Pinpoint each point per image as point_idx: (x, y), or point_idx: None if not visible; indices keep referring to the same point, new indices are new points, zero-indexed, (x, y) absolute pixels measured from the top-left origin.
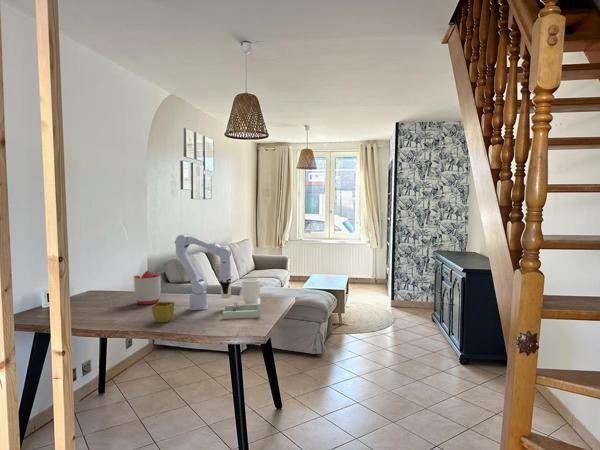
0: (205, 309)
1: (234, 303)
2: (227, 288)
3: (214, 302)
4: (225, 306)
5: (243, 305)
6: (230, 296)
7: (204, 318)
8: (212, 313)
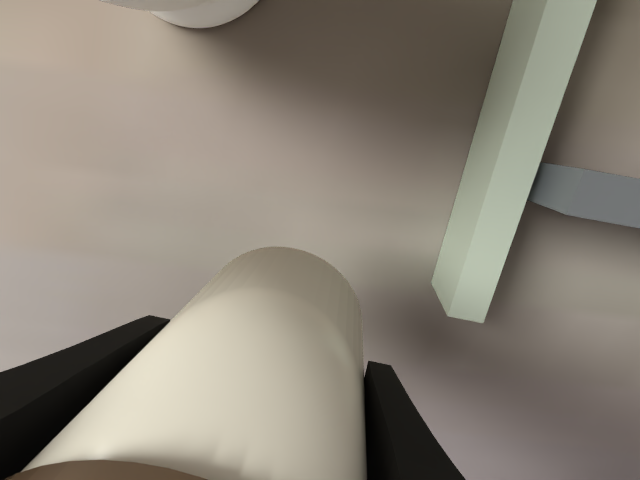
0: None
1: (637, 222)
2: (446, 473)
3: (22, 335)
4: (481, 313)
5: (574, 60)
6: (321, 265)
7: (599, 474)
8: (451, 399)
